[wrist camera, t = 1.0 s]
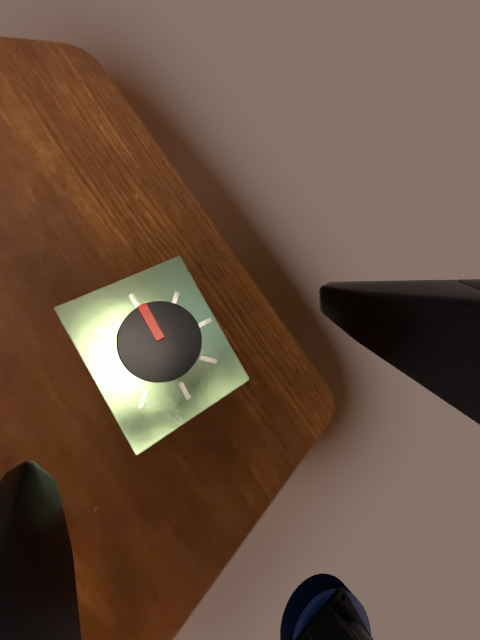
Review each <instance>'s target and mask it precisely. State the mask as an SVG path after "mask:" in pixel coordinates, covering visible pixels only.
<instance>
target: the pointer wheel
mask: <svg viewBox="0 0 480 640" xmlns="http://www.w3.org/2000/svg"><path fill="white" fill-rule="evenodd" d="M116 347H117V352H118V356H119V358H120V360H121V362H122V364H123V365H124V367H125V368H126V369H127V370H128V371H129V372H130V373H131V374H132V375H134V376H136V377H137V378H139V379H141V380H144V381H147V382H153V383H163V382H169V381H172V380H175V379H177V378H179V377H181V376H183V375H184V374H186V373H187V372H188V371H189V370H190V369H191V368H192V367H193V366H194V364H195V363H196V361H197V359H198V357H199V355H200V352H201V347H202V335H201V330H200V327H199V325H198V323H197V321H196V319H195V318H194V317H193V316H192V314H191V313H190V312H189V311H187V310H186V309H185V308H183V307H181V306H180V305H177V304H175V303H172V302H167V301H154V302H149V303H143V304H141V305H139V306H137V308H135V309H134V310H132V311H131V312H130V313H129V314H128V315H127V316H126V317H125V319H124V320H123V322H122V323H121V325H120V327H119V330H118V333H117V339H116Z"/></svg>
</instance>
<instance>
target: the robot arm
mask: <svg viewBox="0 0 480 640" xmlns="http://www.w3.org/2000/svg"><path fill="white" fill-rule="evenodd" d="M319 298H320V309H321V311H322V313H323V314H324V315H325V316H327V317H328V318H329V319H330V320H331V321H333V322H334V323H335V324H336V325H338V326H339V327H340V328H341V329H342V330H343V331H345V332H346V333H347V334H349V335H350V336H351V337H352V338H353V339H355V340H356V341H357V342H359V343H360V344H362V345H363V346H365V347H366V348H368V349H369V350H370V351H372V352H374V353H375V354H376V355H378V356H379V357H381V358H382V359H384V360H385V361H387V362H388V363H390V364H391V365H393V366H394V367H396V368H397V369H398V370H400V371H401V372H403V373H405V374H406V375H407V376H409V377H410V378H412V379H413V380H415V381H416V382H418V383H419V384H421V385H422V386H424V387H425V388H426V389H428V390H429V391H431V392H432V393H434V394H435V395H437V396H438V397H440V398H441V399H443V400H444V401H446V402H447V403H449V404H450V405H452V406H453V407H455V408H456V409H457V410H459V411H461V412H462V413H463V414H465V415H467V416H468V417H469V418H471V419H472V420H474V421H475V422H477V423H478V424H480V279H476V280H475V279H471V280H470V279H469V280H413V281H354V282H329V283H327V284H325V285H323V286H322V287H321V288H320V290H319ZM341 594H342V595H341ZM340 596H341V597H340ZM0 640H81V632H80V622H79V611H78V601H77V591H76V581H75V571H74V561H73V553H72V547H71V542H70V537H69V533H68V529H67V524H66V520H65V516H64V511H63V507H62V503H61V498H60V494H59V490H58V485H57V483H56V481H55V479H54V478H53V476H51V475H50V474H49V473H48V472H46V471H45V470H44V469H42V468H41V467H40V466H39V465H37V464H36V463H35V462H33V461H30V460H29V461H25V462H23V463H21V464H19V465H18V466H16V467H14V468H13V469H11V470H9V471H8V472H7V473H6V474H5V475H4V476H3V478H2V479H1V481H0ZM295 640H373V639H372V637H371V635H370V633H369V632H368V630H367V628H366V626H365V625H364V623H363V621H362V619H361V617H360V616H359V614H358V612H357V610H356V609H355V607H354V605H353V603H352V601H351V600H350V598H349V596H348V594H347V593H346V591H345V590H344V589H343V588H342V587H339V588H337V589H336V591H335V592H334V593H333V594H332V595H331V597H330V598H329V599H328V600H327V601H326V603H325V604H324V605H323V606H322V607H321V609H320V610H319V611H318V612H317V613H316V615H315V616H314V617H313V618H312V619H311V621H310V622H309V623H308V624H307V625H306V627H305V628H304V629H303V630H302V631H301V633H300V634H299V635H298V636H297V637H296V639H295Z"/></svg>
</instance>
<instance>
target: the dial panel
mask: <svg viewBox="0 0 480 640" xmlns="http://www.w3.org/2000/svg"><path fill="white" fill-rule="evenodd" d="M154 301H167V302H172V303H175V304H177V305H180V306H181V307H183V308H185V309H186V310H187V311H189V312H190V313H191V314H192V316H193V317H194V318H195V319H196V321H197V323H198V325H199V327H200V330H201V335H202V347H201V352H200V355H199V357H198V359H197V361H196V363H195V364H194V366H193V367H192V368H191V369H190V370H189V371H188V372H187V373H186V374H184V375H183V376H181V377H179V378H177V379H175V380H172V381H169V382H163V383H153V382H147V381H144V380H141V379H139V378H137V377H136V376H134V375H132V374H131V373H130V372H129V371H128V370H127V369H126V368H125V367H124V365H123V364H122V362H121V360H120V358H119V356H118V352H117V347H116V339H117V333H118V330H119V327H120V325H121V323H122V322H123V320H124V319H125V317H126V316H127V315H128V314H129V313H130V312H131V311H132V310H134V309H135V308H137V306H139V305H141V304H143V303H149V302H154ZM53 309H54V311H55V312H56V314H57V316H58V318H59V319H60V321H61V323H62V325H63V327H64V328H65V330H66V332H67V334H68V336H69V337H70V339H71V341H72V343H73V344H74V346H75V348H76V350H77V352H78V353H79V355H80V357H81V359H82V361H83V362H84V364H85V366H86V368H87V370H88V371H89V373H90V375H91V377H92V378H93V380H94V382H95V384H96V386H97V387H98V389H99V391H100V393H101V395H102V396H103V398H104V400H105V402H106V403H107V405H108V407H109V409H110V411H111V412H112V414H113V416H114V418H115V420H116V421H117V423H118V425H119V427H120V428H121V430H122V432H123V434H124V436H125V437H126V439H127V441H128V443H129V445H130V446H131V448H132V450H133V452H134V454H135V455H136V456H137V455H139V454H140V453H142V452H143V451H144V450H146V449H147V448H149V447H150V446H152V445H153V444H155V443H156V442H158V441H159V440H161V439H162V438H164V437H165V436H167V435H168V434H170V433H171V432H173V431H174V430H176V429H177V428H179V427H180V426H182V425H183V424H185V423H186V422H188V421H189V420H191V419H192V418H194V417H195V416H197V415H198V414H200V413H201V412H203V411H204V410H206V409H207V408H209V407H210V406H212V405H213V404H215V403H216V402H217V401H219V400H220V399H222V398H223V397H225V396H226V395H228V394H229V393H231V392H232V391H234V390H235V389H237V388H238V387H240V386H241V385H243V384H244V383H246V382H247V381H249V380H250V379H249V377H248V375H247V373H246V372H245V370H244V368H243V366H242V365H241V363H240V361H239V359H238V357H237V356H236V354H235V352H234V350H233V349H232V347H231V345H230V343H229V341H228V340H227V338H226V336H225V334H224V333H223V331H222V329H221V327H220V326H219V324H218V322H217V320H216V318H215V317H214V315H213V313H212V311H211V310H210V308H209V306H208V304H207V302H206V301H205V299H204V297H203V295H202V294H201V292H200V290H199V288H198V286H197V285H196V283H195V281H194V279H193V278H192V276H191V274H190V272H189V270H188V269H187V267H186V265H185V263H184V262H183V260H182V258H181V256H177V257H175V258H172V259H170V260H167V261H165V262H163V263H160V264H158V265H155V266H153V267H150V268H148V269H146V270H143V271H141V272H138V273H136V274H133V275H131V276H129V277H126V278H124V279H121V280H119V281H116V282H114V283H112V284H109V285H107V286H104V287H102V288H100V289H97V290H95V291H92V292H90V293H87V294H85V295H83V296H80V297H78V298H75V299H73V300H70V301H68V302H66V303H63V304H61V305H58V306H56V307H54V308H53Z"/></svg>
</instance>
